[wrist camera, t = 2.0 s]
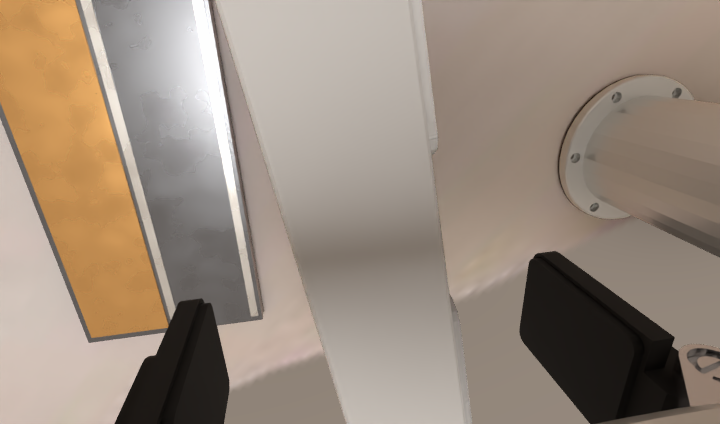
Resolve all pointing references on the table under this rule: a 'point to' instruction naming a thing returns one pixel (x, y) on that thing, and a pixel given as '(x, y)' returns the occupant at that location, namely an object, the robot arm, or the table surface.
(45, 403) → the table surface
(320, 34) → the rounded white slab
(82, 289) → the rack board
